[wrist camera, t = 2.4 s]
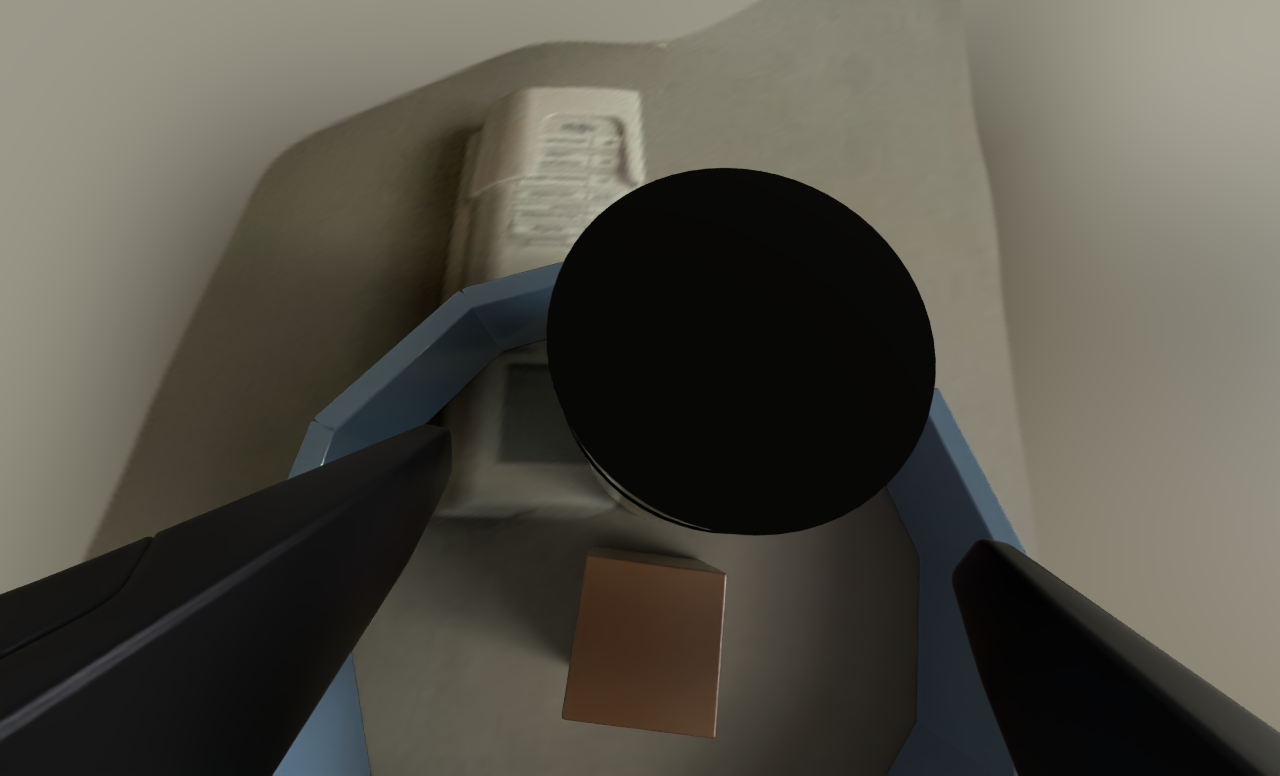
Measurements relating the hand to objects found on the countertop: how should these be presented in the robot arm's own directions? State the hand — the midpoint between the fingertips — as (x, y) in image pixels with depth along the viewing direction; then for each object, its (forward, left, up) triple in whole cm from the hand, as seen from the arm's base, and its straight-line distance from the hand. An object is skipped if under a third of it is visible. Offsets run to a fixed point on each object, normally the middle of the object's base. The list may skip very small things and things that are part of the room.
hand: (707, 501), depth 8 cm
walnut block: (-4, 0, -10) cm, 10 cm away
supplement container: (+3, 0, -10) cm, 10 cm away
